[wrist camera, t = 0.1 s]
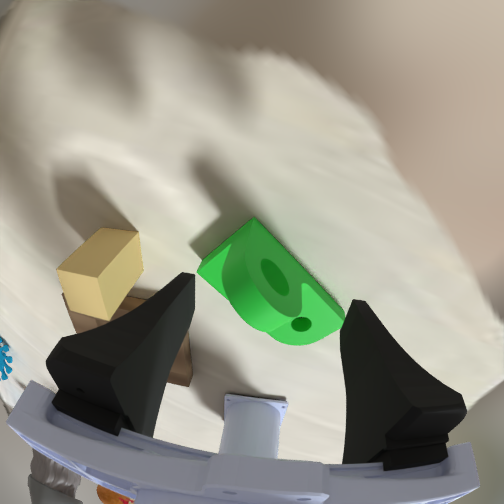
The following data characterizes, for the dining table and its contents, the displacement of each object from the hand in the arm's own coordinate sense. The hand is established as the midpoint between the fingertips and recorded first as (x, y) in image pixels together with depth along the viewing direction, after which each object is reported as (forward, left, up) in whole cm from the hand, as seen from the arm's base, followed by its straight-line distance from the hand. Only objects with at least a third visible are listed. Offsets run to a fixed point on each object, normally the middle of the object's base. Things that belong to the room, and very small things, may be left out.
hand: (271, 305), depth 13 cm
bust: (-100, +66, -10) cm, 120 cm away
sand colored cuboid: (-5, +14, -10) cm, 18 cm away
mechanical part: (-7, -1, -11) cm, 13 cm away
